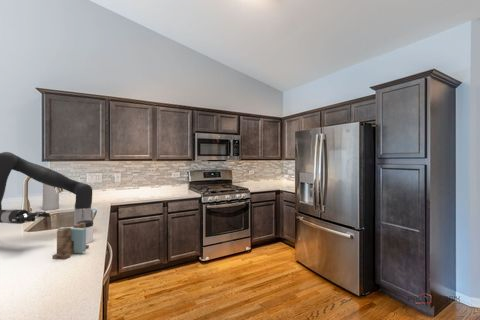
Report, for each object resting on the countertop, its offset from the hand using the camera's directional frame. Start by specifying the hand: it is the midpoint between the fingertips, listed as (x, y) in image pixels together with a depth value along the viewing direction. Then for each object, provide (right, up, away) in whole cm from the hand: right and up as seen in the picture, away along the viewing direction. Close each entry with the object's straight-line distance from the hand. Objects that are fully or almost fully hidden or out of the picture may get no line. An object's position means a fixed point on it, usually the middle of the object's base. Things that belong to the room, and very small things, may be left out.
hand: (42, 217), depth 129 cm
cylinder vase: (-78, -17, +105) cm, 132 cm away
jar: (+13, -19, +15) cm, 28 cm away
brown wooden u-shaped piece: (+17, -18, -2) cm, 25 cm away
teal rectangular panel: (+17, -17, -2) cm, 25 cm away
